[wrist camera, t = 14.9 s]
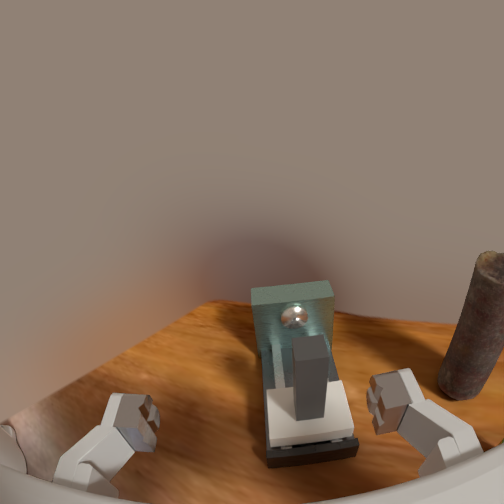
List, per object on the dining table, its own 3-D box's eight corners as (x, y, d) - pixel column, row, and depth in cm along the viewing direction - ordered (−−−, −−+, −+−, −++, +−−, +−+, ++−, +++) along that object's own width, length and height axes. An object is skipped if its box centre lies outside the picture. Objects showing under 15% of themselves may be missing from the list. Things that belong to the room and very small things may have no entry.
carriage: (270, 447, 31) (261, 382, 25) (267, 399, 37) (258, 327, 31) (351, 436, 30) (368, 367, 25) (340, 390, 37) (348, 316, 31)
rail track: (263, 468, 31) (255, 427, 26) (257, 340, 50) (251, 288, 46) (359, 455, 30) (375, 410, 26) (326, 332, 50) (328, 280, 46)
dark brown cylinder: (471, 413, 31) (533, 288, 21) (427, 395, 36) (470, 267, 26) (485, 375, 35) (533, 255, 26) (444, 360, 40) (480, 238, 31)
